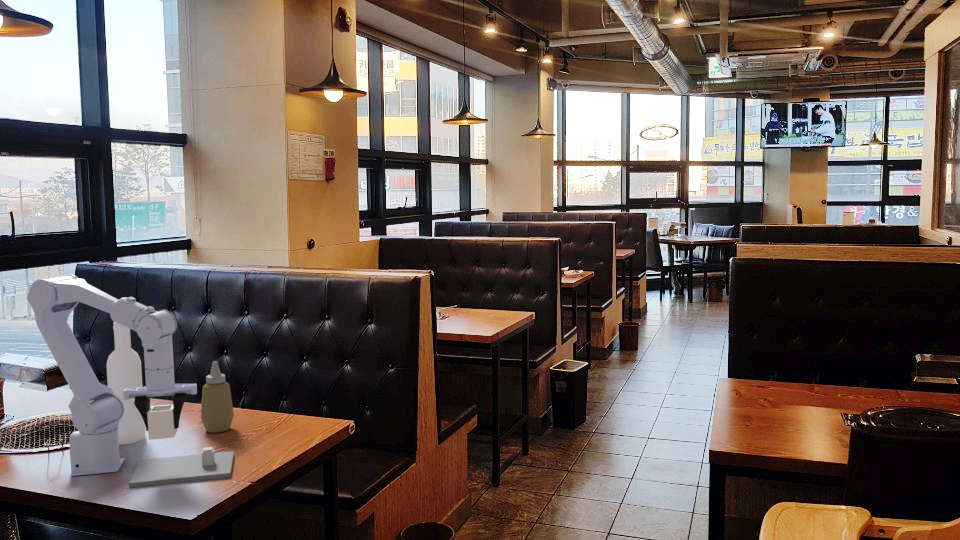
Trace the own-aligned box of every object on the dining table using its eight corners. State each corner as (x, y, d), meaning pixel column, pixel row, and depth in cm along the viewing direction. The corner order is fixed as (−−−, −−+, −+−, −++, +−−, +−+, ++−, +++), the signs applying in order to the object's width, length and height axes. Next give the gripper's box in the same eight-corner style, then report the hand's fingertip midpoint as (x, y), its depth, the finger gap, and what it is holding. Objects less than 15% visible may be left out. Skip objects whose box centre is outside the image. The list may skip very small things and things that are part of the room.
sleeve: (148, 439, 157) (147, 412, 156) (152, 432, 162) (151, 406, 161) (173, 437, 158) (172, 410, 158) (177, 430, 163) (175, 404, 162)
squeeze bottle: (239, 425, 194) (236, 358, 192) (226, 435, 186) (223, 365, 184) (210, 424, 195) (207, 358, 193) (195, 434, 187) (192, 365, 185)
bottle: (110, 437, 184) (103, 320, 181) (144, 432, 188) (138, 317, 185) (110, 447, 177) (103, 325, 174) (146, 442, 181) (139, 322, 178)
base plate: (129, 487, 153) (128, 466, 152) (141, 464, 166) (139, 444, 166) (230, 477, 158) (229, 457, 157) (233, 455, 171) (233, 436, 171)
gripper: (118, 374, 153) (122, 437, 154) (193, 369, 156) (196, 430, 158) (125, 366, 159) (129, 427, 161) (196, 361, 163) (199, 421, 165)
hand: (162, 428), depth 160 cm, fingers closed on sleeve, 5 cm apart
